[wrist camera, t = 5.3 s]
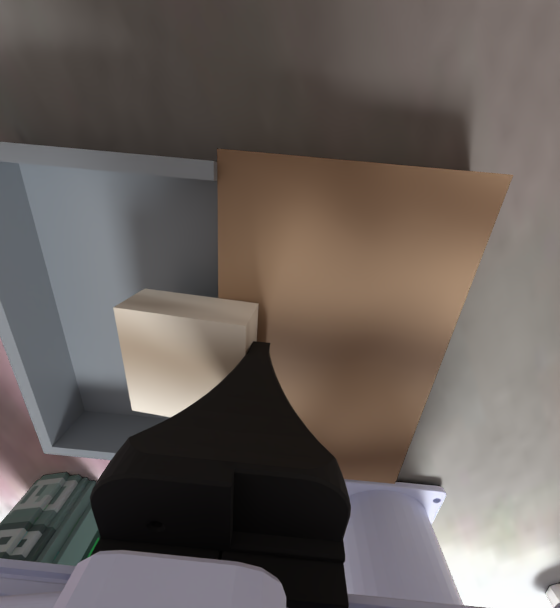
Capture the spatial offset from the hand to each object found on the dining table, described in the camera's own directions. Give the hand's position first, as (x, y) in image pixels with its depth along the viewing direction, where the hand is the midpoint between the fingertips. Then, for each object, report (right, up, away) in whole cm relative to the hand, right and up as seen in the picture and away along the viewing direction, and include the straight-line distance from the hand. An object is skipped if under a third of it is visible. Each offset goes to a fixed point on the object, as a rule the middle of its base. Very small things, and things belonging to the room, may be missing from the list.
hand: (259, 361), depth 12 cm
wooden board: (+3, +1, +3) cm, 5 cm away
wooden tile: (-3, +1, +1) cm, 3 cm away
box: (-6, +2, +3) cm, 7 cm away
